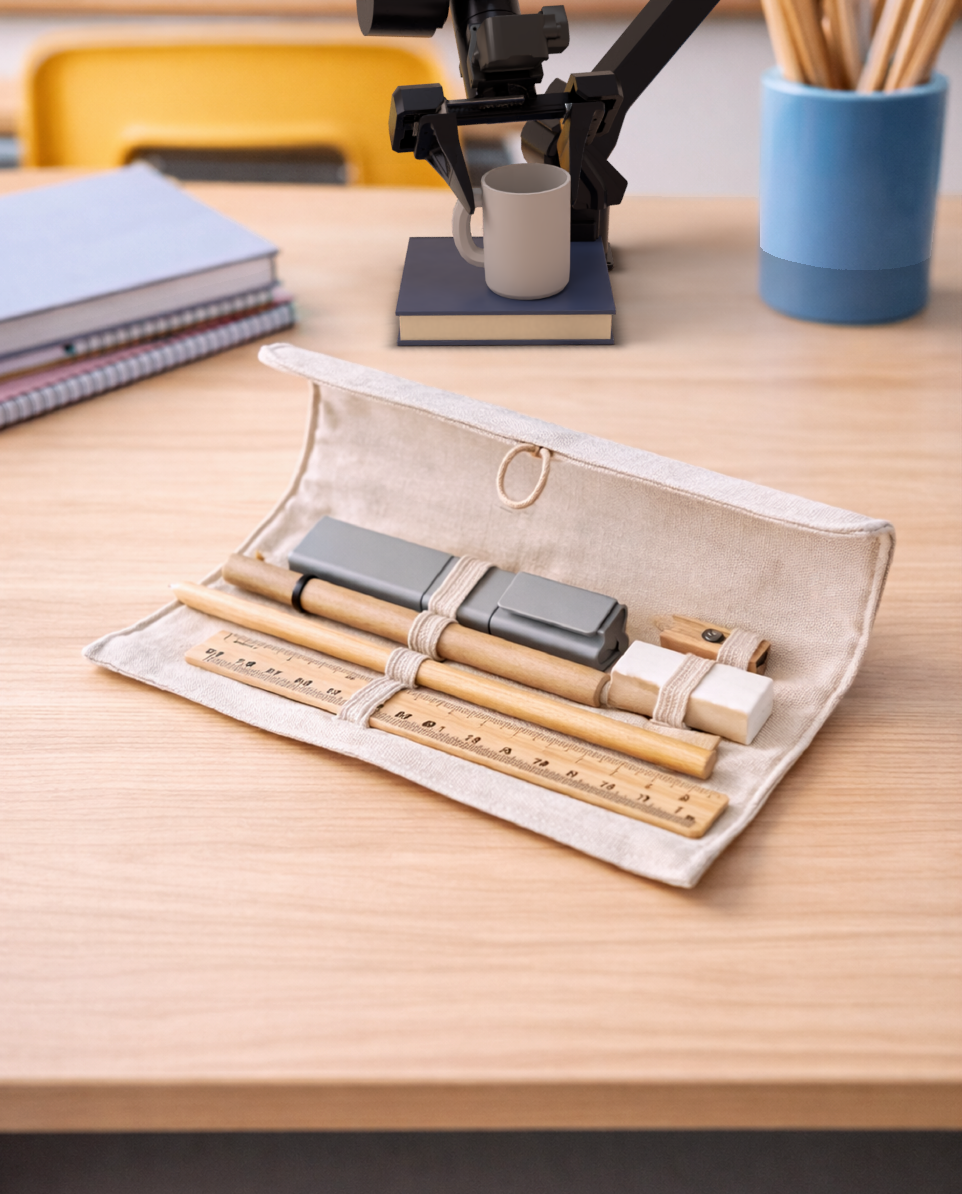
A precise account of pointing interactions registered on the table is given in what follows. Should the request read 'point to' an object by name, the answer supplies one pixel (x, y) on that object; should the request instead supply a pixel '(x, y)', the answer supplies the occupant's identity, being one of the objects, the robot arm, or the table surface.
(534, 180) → the cup
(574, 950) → the table surface
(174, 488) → the table surface
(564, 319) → the book
